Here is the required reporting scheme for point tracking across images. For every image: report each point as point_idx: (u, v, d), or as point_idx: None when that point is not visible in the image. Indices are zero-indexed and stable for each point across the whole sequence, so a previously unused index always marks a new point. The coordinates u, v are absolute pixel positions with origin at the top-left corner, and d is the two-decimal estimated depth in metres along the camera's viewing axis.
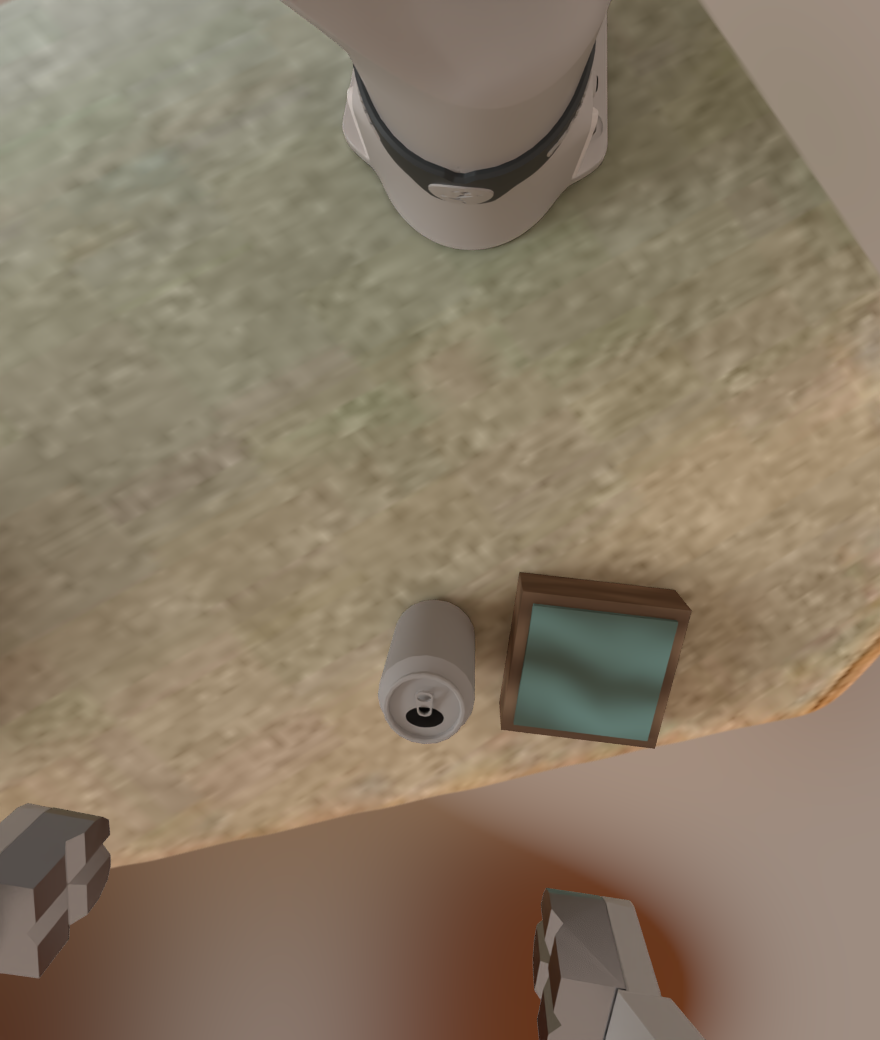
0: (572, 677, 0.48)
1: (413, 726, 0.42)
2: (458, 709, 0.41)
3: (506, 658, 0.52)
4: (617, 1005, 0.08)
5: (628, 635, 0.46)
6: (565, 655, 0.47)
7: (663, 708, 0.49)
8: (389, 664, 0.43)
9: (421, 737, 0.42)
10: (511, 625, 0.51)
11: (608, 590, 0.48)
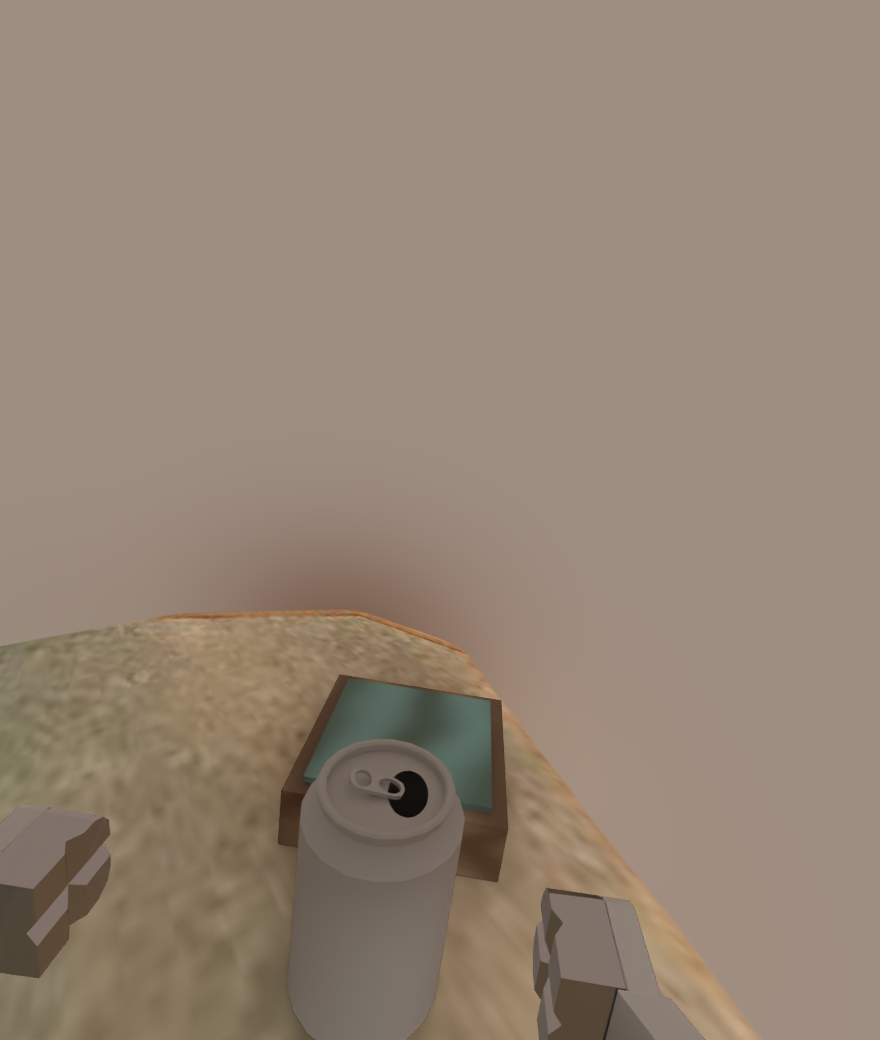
0: None
1: (426, 809, 0.24)
2: (393, 753, 0.27)
3: None
4: (617, 1005, 0.08)
5: (358, 706, 0.43)
6: None
7: (450, 693, 0.47)
8: (318, 872, 0.22)
9: (445, 796, 0.25)
10: None
11: None
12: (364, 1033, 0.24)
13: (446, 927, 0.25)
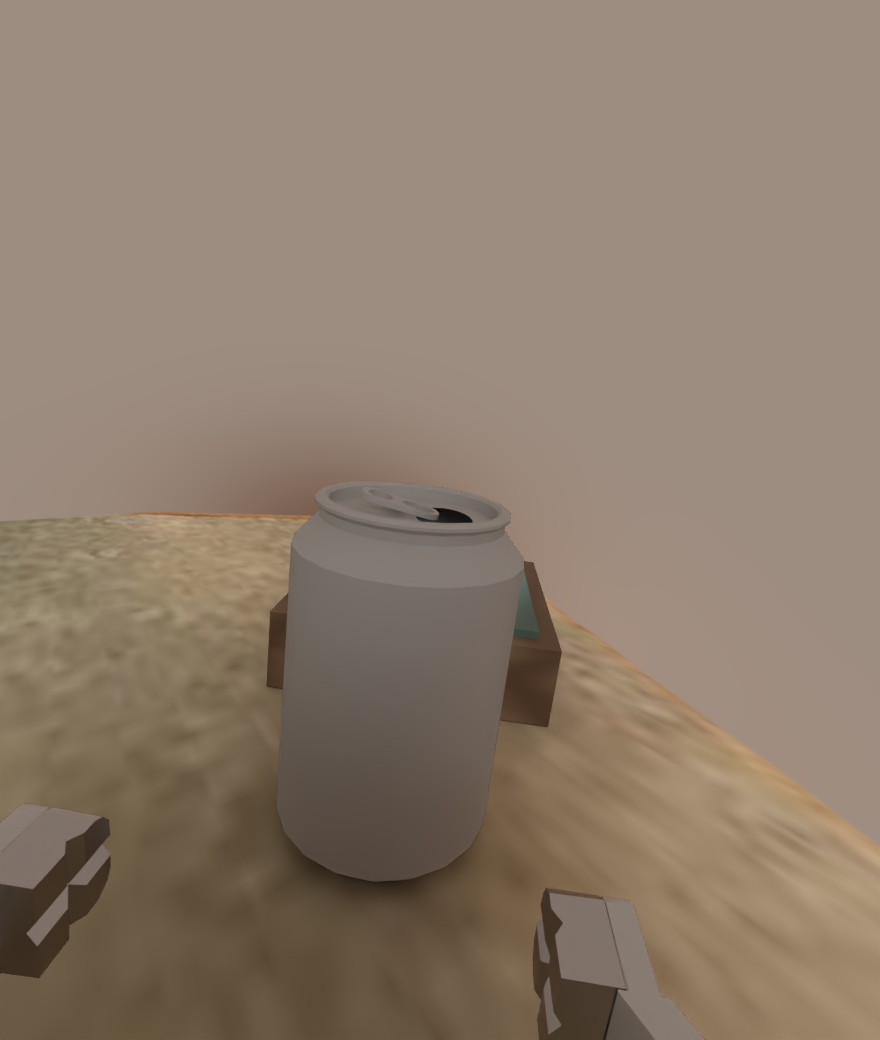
0: None
1: None
2: (419, 499, 0.20)
3: None
4: (617, 1005, 0.08)
5: None
6: None
7: None
8: (318, 591, 0.15)
9: None
10: None
11: None
12: (389, 845, 0.16)
13: (500, 711, 0.18)
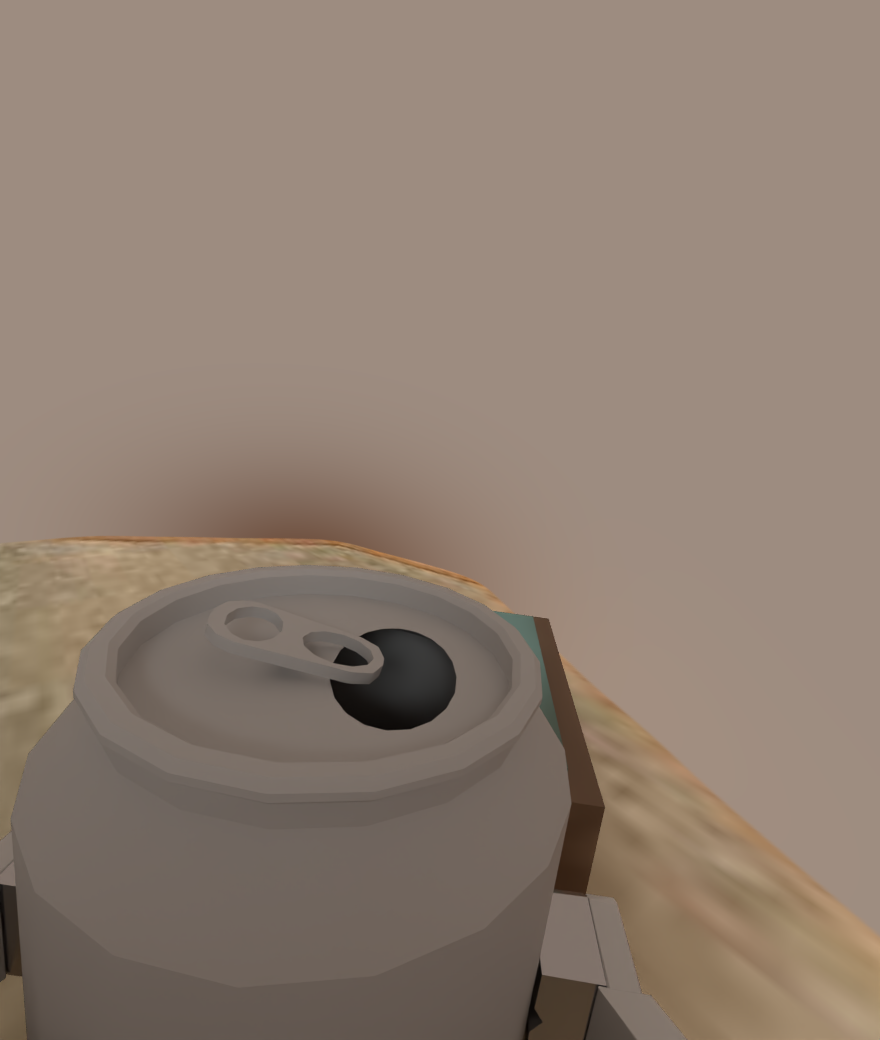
0: None
1: (454, 708, 0.07)
2: (359, 599, 0.11)
3: None
4: (598, 1002, 0.08)
5: None
6: None
7: None
8: (34, 936, 0.06)
9: (511, 677, 0.08)
10: None
11: None
12: None
13: None
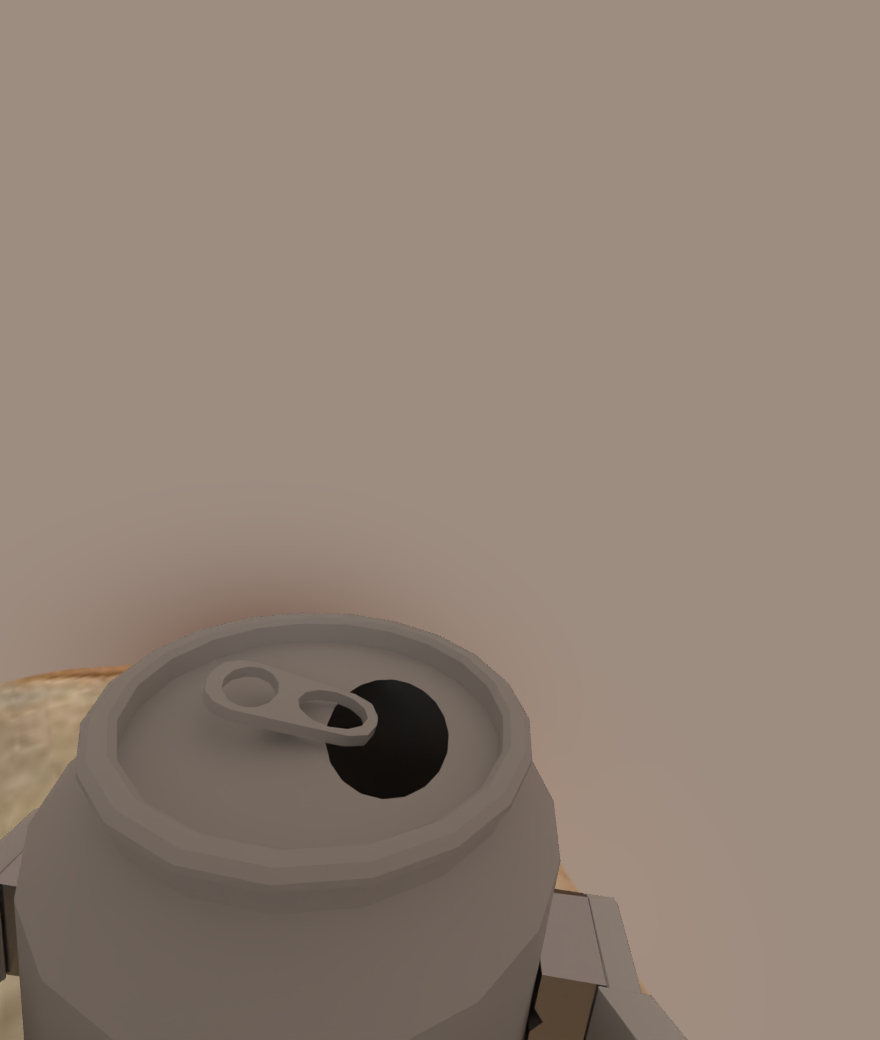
0: None
1: (447, 771, 0.08)
2: (351, 646, 0.11)
3: None
4: (598, 1002, 0.08)
5: None
6: None
7: None
8: (40, 1019, 0.06)
9: (501, 735, 0.08)
10: None
11: None
12: None
13: None
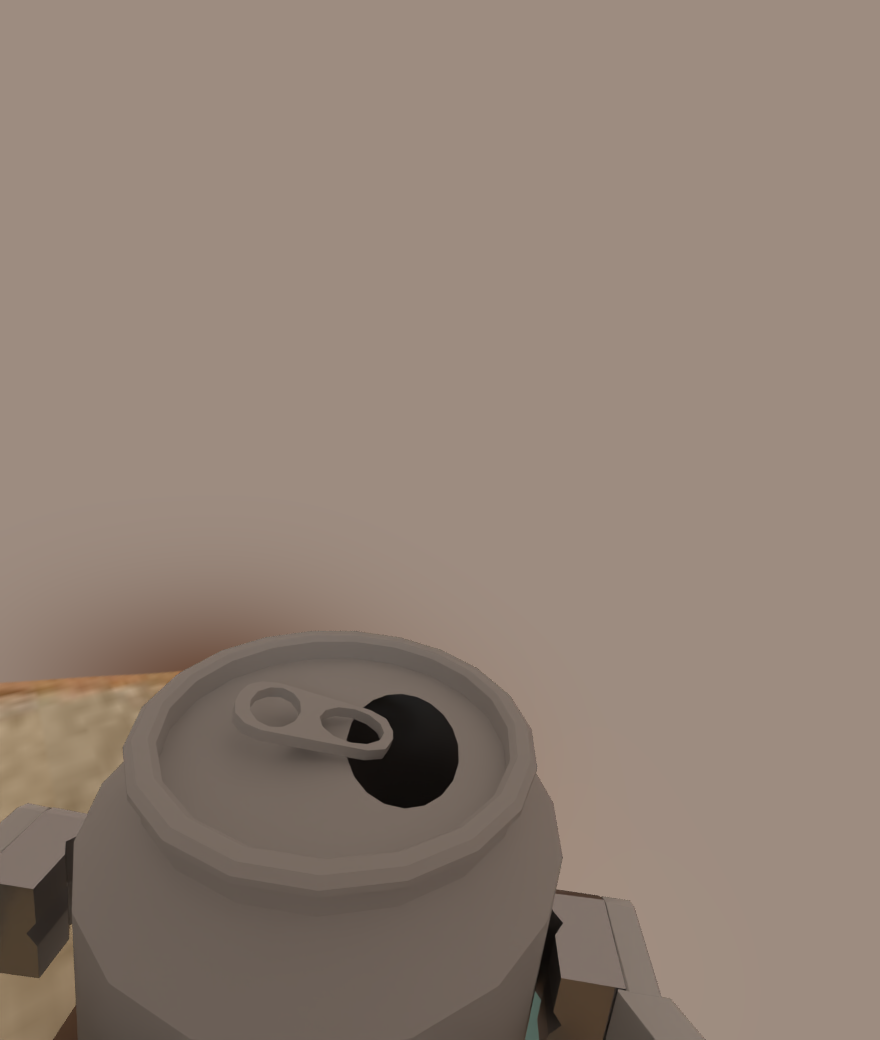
0: None
1: (459, 781, 0.08)
2: (360, 662, 0.11)
3: None
4: (617, 1005, 0.08)
5: None
6: None
7: None
8: (103, 1019, 0.06)
9: (506, 745, 0.09)
10: None
11: None
12: None
13: None
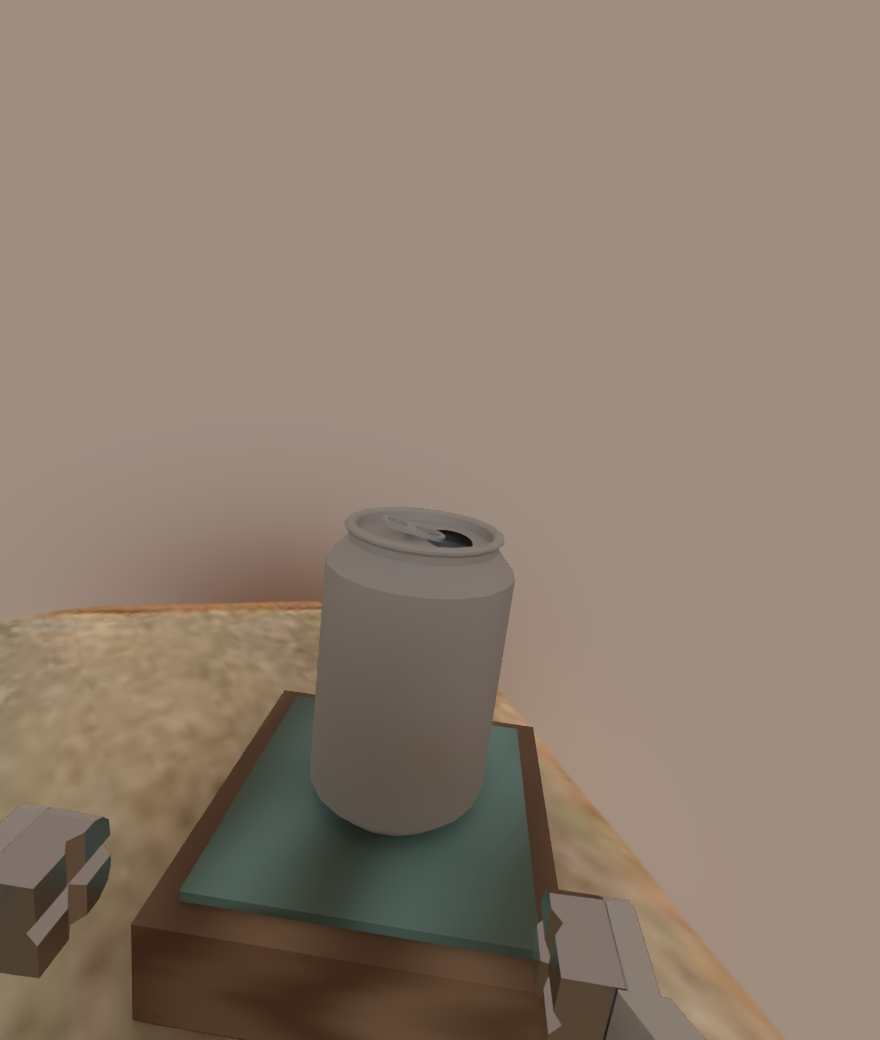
0: None
1: None
2: (424, 521, 0.24)
3: None
4: (617, 1005, 0.08)
5: (306, 744, 0.26)
6: (334, 832, 0.21)
7: None
8: (355, 603, 0.19)
9: (492, 540, 0.22)
10: None
11: None
12: (410, 804, 0.20)
13: (495, 695, 0.22)
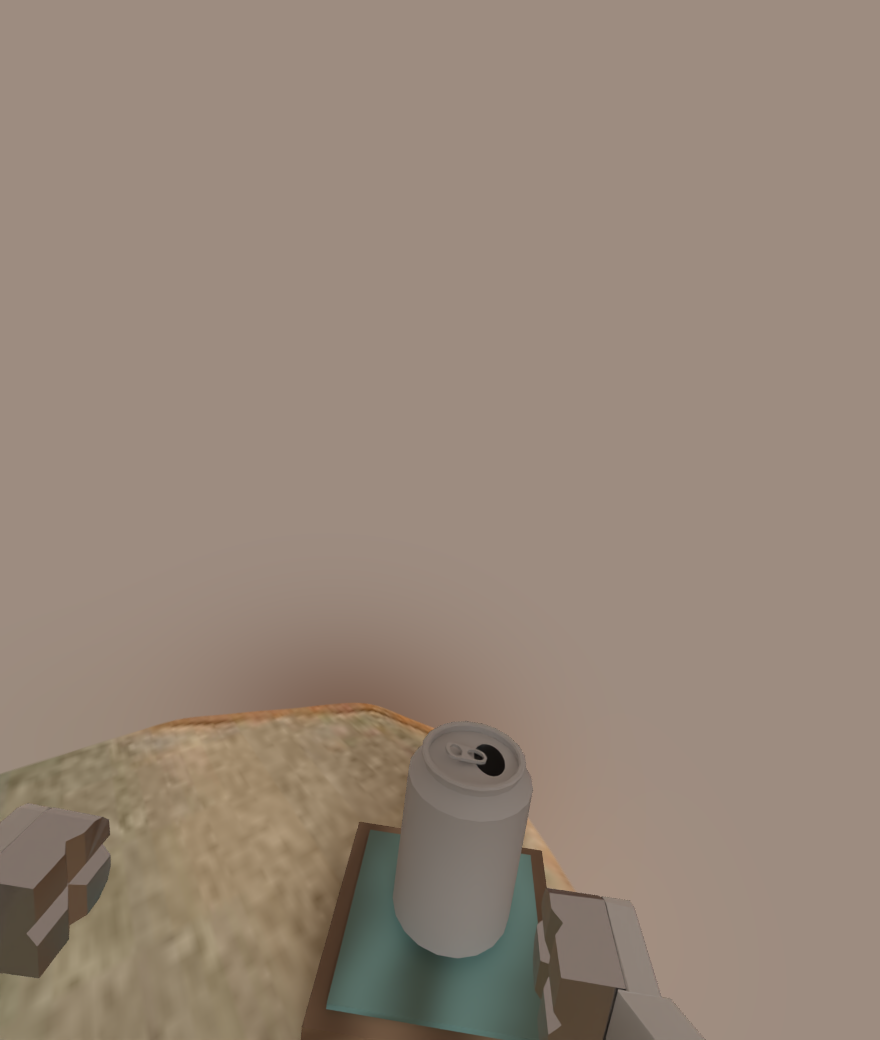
0: None
1: (506, 770, 0.32)
2: (469, 732, 0.35)
3: None
4: (617, 1005, 0.08)
5: (384, 876, 0.37)
6: (414, 953, 0.33)
7: None
8: (434, 819, 0.30)
9: (518, 760, 0.33)
10: None
11: None
12: (466, 940, 0.31)
13: (519, 860, 0.33)
